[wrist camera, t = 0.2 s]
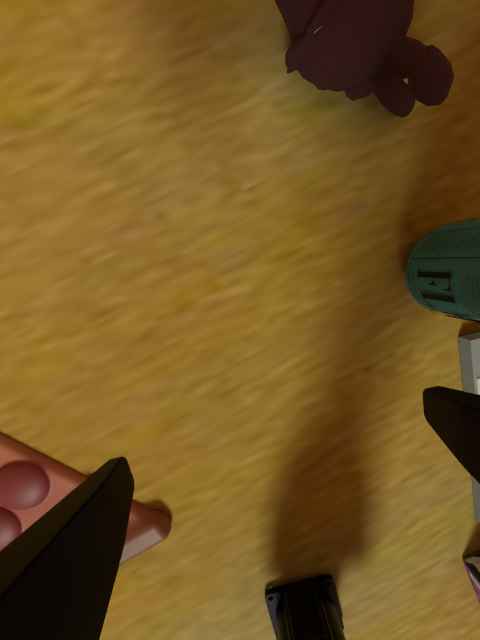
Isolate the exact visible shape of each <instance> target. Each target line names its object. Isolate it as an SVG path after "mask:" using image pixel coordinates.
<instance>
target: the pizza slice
mask: <svg viewBox="0 0 480 640" xmlns="http://www.w3.org/2000/svg"><path fill="white" fill-rule="evenodd" d="M86 479H87V478H85V477H83V476H81V475H80V474H78V473H76V472H74V471H72V470H70V469H68V468H66V467H64V466H62V465H60V464H58V463H56V462H54V461H52V460H50V459H48V458H46V457H44V456H42V455H40V454H39V453H37V452H35V451H33V450H31V449H29V448H27V447H25V446H23V445H21V444H19V443H17V442H15V441H13V440H11V439H9V438H7V437H5V436H3V435H1V434H0V551H1V550H2V549H3V548H4V547H6V546H7V545H8V544H9V543H10V542H12V541H13V540H14V539H15V538H16V537H18V536H19V535H20V534H21V533H22V532H24V531H25V530H26V529H27V528H28V527H30V526H31V525H32V524H33V523H34V522H36V521H37V520H38V519H39V518H40V517H42V516H43V515H44V514H45V513H46V512H48V511H49V510H50V509H51V508H52V507H54V506H55V505H56V504H57V503H58V502H60V501H61V500H62V499H63V498H64V497H65V496H67V495H68V494H69V493H70V492H71V491H73V490H74V489H75V488H76V487H77V486H79V485H80V484H81V483H82V482H83V481H85V480H86ZM170 530H171V522H170V519H169V518H168V517H167V516H166V515H164V514H163V513H162V512H160V511H158V510H154V509H149V508H146V507H143V506H140V505H138V504H136V503H134V502H132V504H131V510H130V516H129V522H128V528H127V534H126V539H125V544H124V548H123V553H122V556H121V560H120V564H119V566H120V565H122V564H124V563H125V562H127V561H129V560H130V559H132V558H134V557H136V556H137V555H139V554H141V553H143V552H144V551H146V550H148V549H150V548H151V547H153V546H155V545H156V544H158V543H160V542H162V541H163V540H165V539H166V538H167V536H168V535H169V533H170Z"/></svg>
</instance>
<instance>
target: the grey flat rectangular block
mask: <svg viewBox="0 0 480 640" xmlns="http://www.w3.org/2000/svg"><path fill="white" fill-rule="evenodd" d="M458 339H459V350H460V360H461V371H462V381H463V391H464V392H469V393H473V394H478V395H480V332H476V333H472V334H468V335H464V336H460V337H458ZM471 476H472V475H471ZM472 486H473V497H474V507H475V518H476V520H477V521H478V522H479V523H480V484H479V483H478V482H477V481H476V480H475V479H474V478H473V476H472Z"/></svg>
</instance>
